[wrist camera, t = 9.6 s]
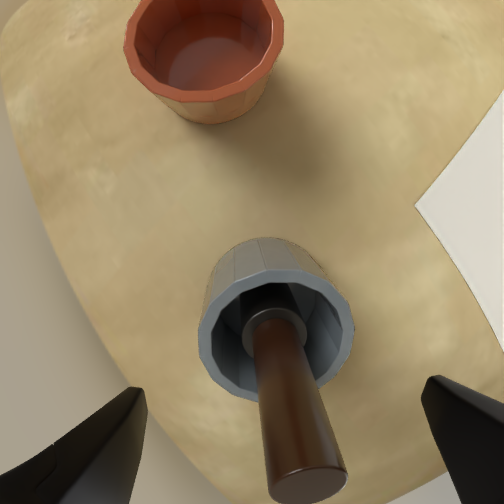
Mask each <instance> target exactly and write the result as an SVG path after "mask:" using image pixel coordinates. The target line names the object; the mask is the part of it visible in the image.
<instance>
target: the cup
mask: <svg viewBox="0 0 504 504" xmlns="http://www.w3.org/2000/svg"><path fill="white" fill-rule="evenodd" d="M267 283H287V284H288V285H289V287H290V290H291V292H292V294H293V297H294V299H295V301H296V303H297V306H298V308H299V310H300V313H301V315H302V317H303V320H304V322H305V324H306V327H307V340H306V343H305V345H304V347H303V348H304V351H305V354H306V357H307V360H308V362H309V365H310V368H311V371H312V373H313V376H314V379H315V382H316V385H317V387H318V389H319V388H320V387H322V386H323V385H325V384H326V383H327V382H329V381H330V380H331V379H332V378H334V377H335V376H336V374H337V373H338V371H339V370H340V368H341V367H342V365H343V364H344V362H345V361H346V359H347V358H348V356H349V354H350V351H351V347H352V342H353V337H354V331H355V326H354V322H353V318H352V314H351V311H350V307H349V304H348V302H347V300H346V299H345V298H344V297H343V295H342V294H341V293H340V292H339V290H338V289H337V288H336V286H335V285H334V284H333V283H332V281H331V280H330V279H329V278H328V276H327V275H326V274H325V273H324V271H323V270H322V269H321V268H320V266H319V265H318V264H317V263H316V262H315V261H314V260H313V259H312V257H311V256H310V255H309V254H308V253H307V252H306V251H305V250H304V249H302V248H301V247H299V246H297V245H296V244H294V243H292V242H289V241H286V240H283V239H278V238H258V239H252V240H249V241H246V242H243V243H241V244H239V245H237V246H236V247H234V248H232V249H231V250H230V251H228V252H227V253H226V254H225V255H224V256H223V257H222V258H221V259H220V260H219V262H218V263H217V265H216V266H215V268H214V270H213V272H212V274H211V277H210V280H209V282H208V285H207V289H206V294H205V298H204V303H203V308H202V313H201V318H200V323H199V328H198V345H199V356H200V359H201V361H202V362H203V364H204V366H205V368H206V370H207V371H208V373H209V375H210V377H211V378H212V380H213V381H215V382H216V383H217V384H219V385H220V386H221V387H223V388H224V389H225V390H227V391H228V392H229V393H231V394H232V395H235V396H238V397H241V398H244V399H248V400H251V401H255V402H258V393H257V383H256V374H255V365H254V359H253V358H252V357H251V356H250V355H248V353H247V352H246V351H245V349H244V347H243V344H242V337H241V315H240V294H241V293H242V292H245V291H247V290H250V289H253V288H256V287H258V286H261V285H264V284H267Z"/></svg>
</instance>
